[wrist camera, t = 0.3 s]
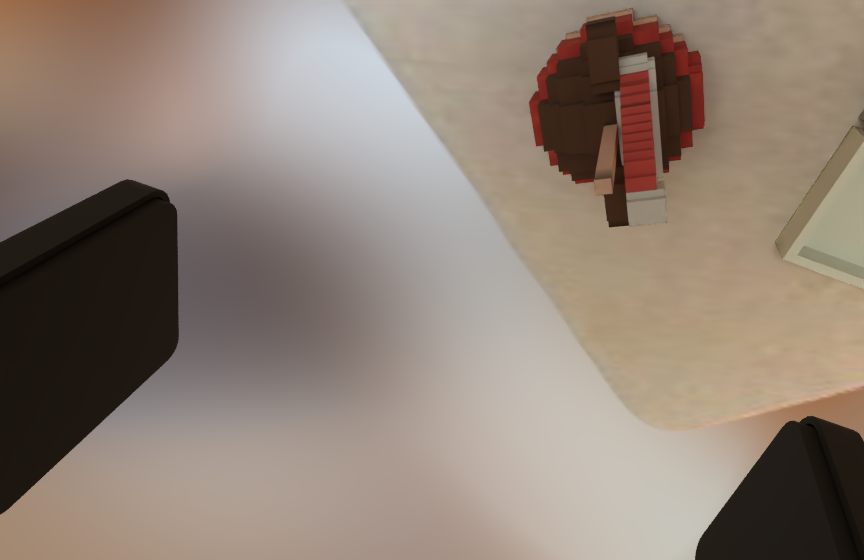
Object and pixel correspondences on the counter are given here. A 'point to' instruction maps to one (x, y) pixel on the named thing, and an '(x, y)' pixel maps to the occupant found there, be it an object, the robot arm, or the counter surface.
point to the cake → (620, 110)
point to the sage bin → (832, 218)
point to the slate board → (862, 115)
